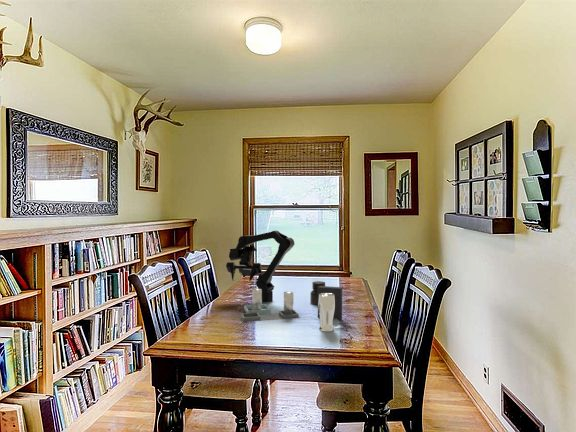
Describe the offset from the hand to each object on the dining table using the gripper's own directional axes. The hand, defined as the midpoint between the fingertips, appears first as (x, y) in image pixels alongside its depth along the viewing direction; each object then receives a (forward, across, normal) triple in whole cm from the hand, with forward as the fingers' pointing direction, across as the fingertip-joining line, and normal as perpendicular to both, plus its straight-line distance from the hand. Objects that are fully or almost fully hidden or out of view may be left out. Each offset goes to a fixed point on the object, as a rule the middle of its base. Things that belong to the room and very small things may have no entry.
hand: (241, 280), depth 215 cm
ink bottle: (+3, -40, -16) cm, 43 cm away
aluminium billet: (+18, -11, 0) cm, 21 cm away
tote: (+18, -11, -1) cm, 21 cm away
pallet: (+25, -20, +6) cm, 32 cm away
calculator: (+22, -47, +3) cm, 52 cm away
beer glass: (+34, -47, +15) cm, 59 cm away
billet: (+22, -28, +4) cm, 36 cm away
